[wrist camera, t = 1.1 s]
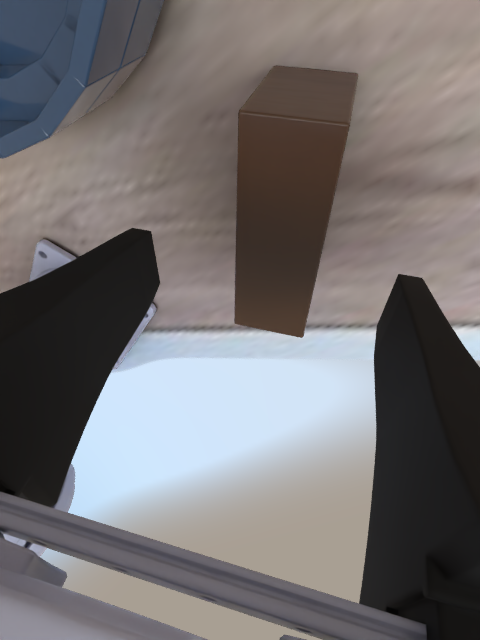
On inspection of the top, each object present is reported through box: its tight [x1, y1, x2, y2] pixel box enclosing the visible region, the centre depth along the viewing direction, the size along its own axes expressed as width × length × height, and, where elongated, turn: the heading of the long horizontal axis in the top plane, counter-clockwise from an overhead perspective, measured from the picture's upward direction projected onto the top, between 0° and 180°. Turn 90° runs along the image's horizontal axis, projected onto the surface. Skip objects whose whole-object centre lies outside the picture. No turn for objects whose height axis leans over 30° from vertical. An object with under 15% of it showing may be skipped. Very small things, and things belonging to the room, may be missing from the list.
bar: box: [234, 66, 358, 338], centre depth 15 cm, size 8×3×5 cm, turn 179°
